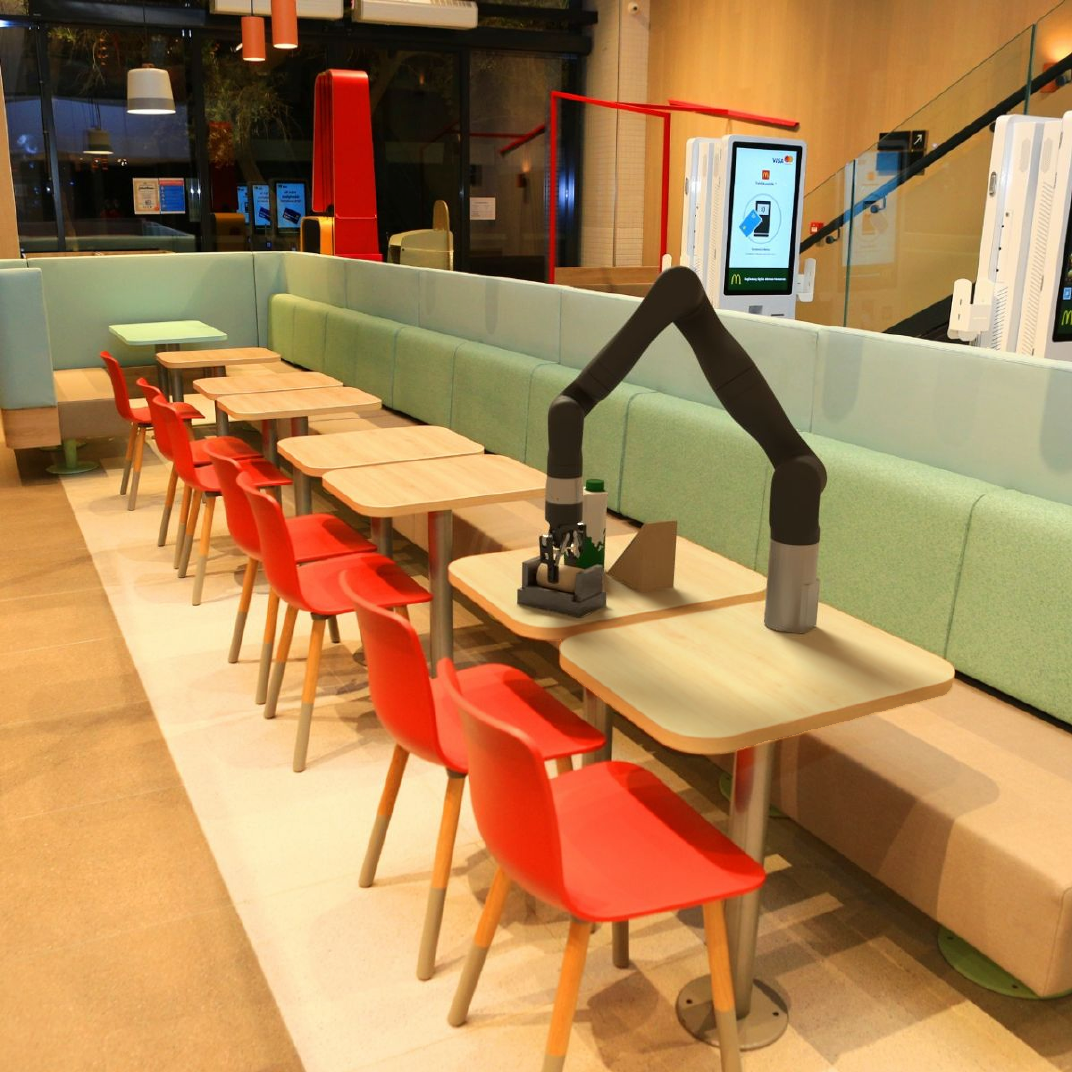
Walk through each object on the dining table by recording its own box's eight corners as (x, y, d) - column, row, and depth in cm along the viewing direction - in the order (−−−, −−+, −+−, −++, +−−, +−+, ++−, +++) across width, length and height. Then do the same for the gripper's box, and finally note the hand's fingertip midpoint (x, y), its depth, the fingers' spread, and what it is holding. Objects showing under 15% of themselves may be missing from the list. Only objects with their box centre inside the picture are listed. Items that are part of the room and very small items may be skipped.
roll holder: (606, 605, 232) (607, 564, 229) (579, 618, 224) (580, 576, 221) (544, 591, 240) (545, 552, 238) (517, 603, 232) (517, 562, 230)
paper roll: (587, 592, 230) (589, 567, 229) (573, 596, 226) (575, 570, 225) (549, 584, 235) (551, 559, 235) (535, 587, 231) (537, 562, 230)
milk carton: (609, 572, 254) (612, 484, 248) (570, 575, 251) (573, 486, 246) (595, 561, 262) (598, 476, 257) (558, 564, 259) (560, 478, 254)
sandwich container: (637, 569, 257) (640, 504, 253) (675, 588, 244) (678, 520, 240) (604, 573, 254) (606, 507, 250) (640, 593, 240) (643, 524, 236)
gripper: (559, 507, 218) (557, 591, 223) (599, 494, 230) (596, 574, 234) (527, 501, 222) (526, 584, 227) (568, 489, 234) (566, 567, 238)
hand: (562, 578), depth 230 cm, fingers open, 6 cm apart
